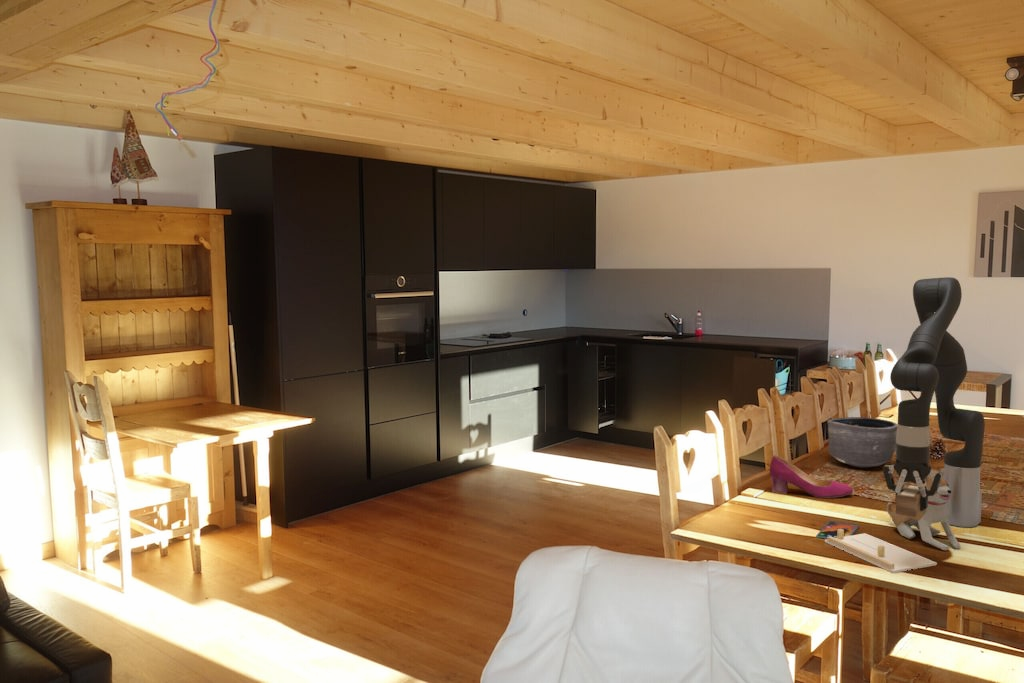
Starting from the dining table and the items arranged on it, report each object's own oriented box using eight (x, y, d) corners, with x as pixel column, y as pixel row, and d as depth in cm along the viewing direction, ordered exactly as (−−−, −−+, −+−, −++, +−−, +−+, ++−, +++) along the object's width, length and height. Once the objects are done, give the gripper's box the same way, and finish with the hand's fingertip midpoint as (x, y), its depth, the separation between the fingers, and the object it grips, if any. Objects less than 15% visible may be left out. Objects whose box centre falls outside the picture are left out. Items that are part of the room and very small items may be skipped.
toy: (937, 552, 211) (939, 478, 209) (872, 524, 233) (874, 457, 231) (968, 548, 213) (971, 474, 211) (901, 521, 236) (903, 454, 234)
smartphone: (815, 535, 224) (829, 520, 236) (815, 540, 224) (829, 524, 236) (846, 540, 219) (859, 523, 231) (846, 545, 219) (859, 528, 231)
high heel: (853, 494, 264) (853, 457, 263) (852, 501, 256) (853, 463, 255) (771, 486, 274) (771, 451, 273) (768, 493, 267) (768, 457, 265)
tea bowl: (908, 462, 300) (906, 416, 299) (889, 475, 284) (887, 427, 283) (840, 457, 317) (837, 413, 316) (818, 469, 300) (816, 423, 299)
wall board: (865, 535, 225) (865, 524, 224) (936, 565, 202) (937, 553, 202) (824, 542, 220) (824, 530, 220) (893, 573, 197) (893, 561, 197)
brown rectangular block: (907, 502, 209) (907, 483, 208) (926, 505, 206) (927, 486, 205) (895, 513, 200) (896, 494, 200) (915, 517, 197) (915, 497, 197)
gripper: (948, 442, 199) (946, 510, 201) (886, 435, 209) (885, 500, 210) (941, 449, 194) (939, 518, 195) (878, 441, 203) (876, 507, 205)
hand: (911, 508), depth 203 cm, fingers closed on brown rectangular block, 4 cm apart
